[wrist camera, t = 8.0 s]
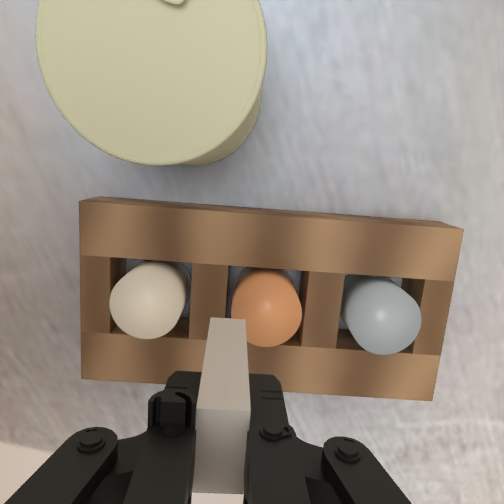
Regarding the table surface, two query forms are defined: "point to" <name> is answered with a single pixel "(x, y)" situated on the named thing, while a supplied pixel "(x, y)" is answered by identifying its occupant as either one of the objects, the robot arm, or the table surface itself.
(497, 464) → the table surface
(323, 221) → the wooden egg holder
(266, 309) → the orange egg
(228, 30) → the can
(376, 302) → the blue-grey egg
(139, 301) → the white egg
